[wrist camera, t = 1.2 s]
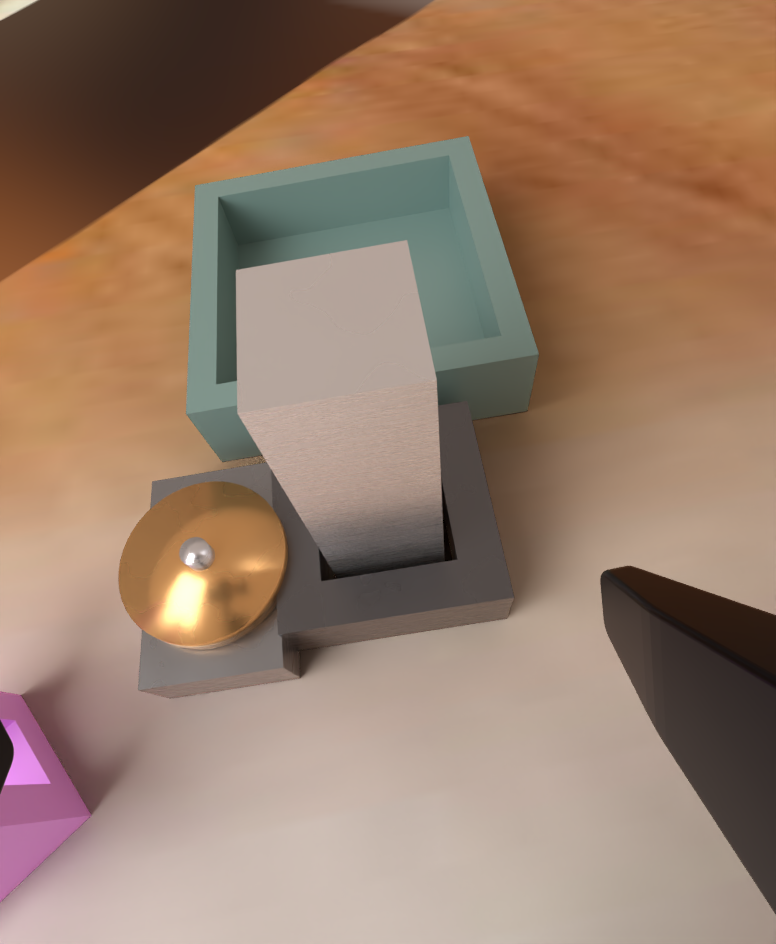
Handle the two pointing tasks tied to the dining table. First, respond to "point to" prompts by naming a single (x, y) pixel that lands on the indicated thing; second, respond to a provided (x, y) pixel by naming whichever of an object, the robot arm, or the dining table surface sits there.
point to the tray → (352, 227)
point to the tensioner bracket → (292, 575)
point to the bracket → (32, 798)
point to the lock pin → (345, 402)
